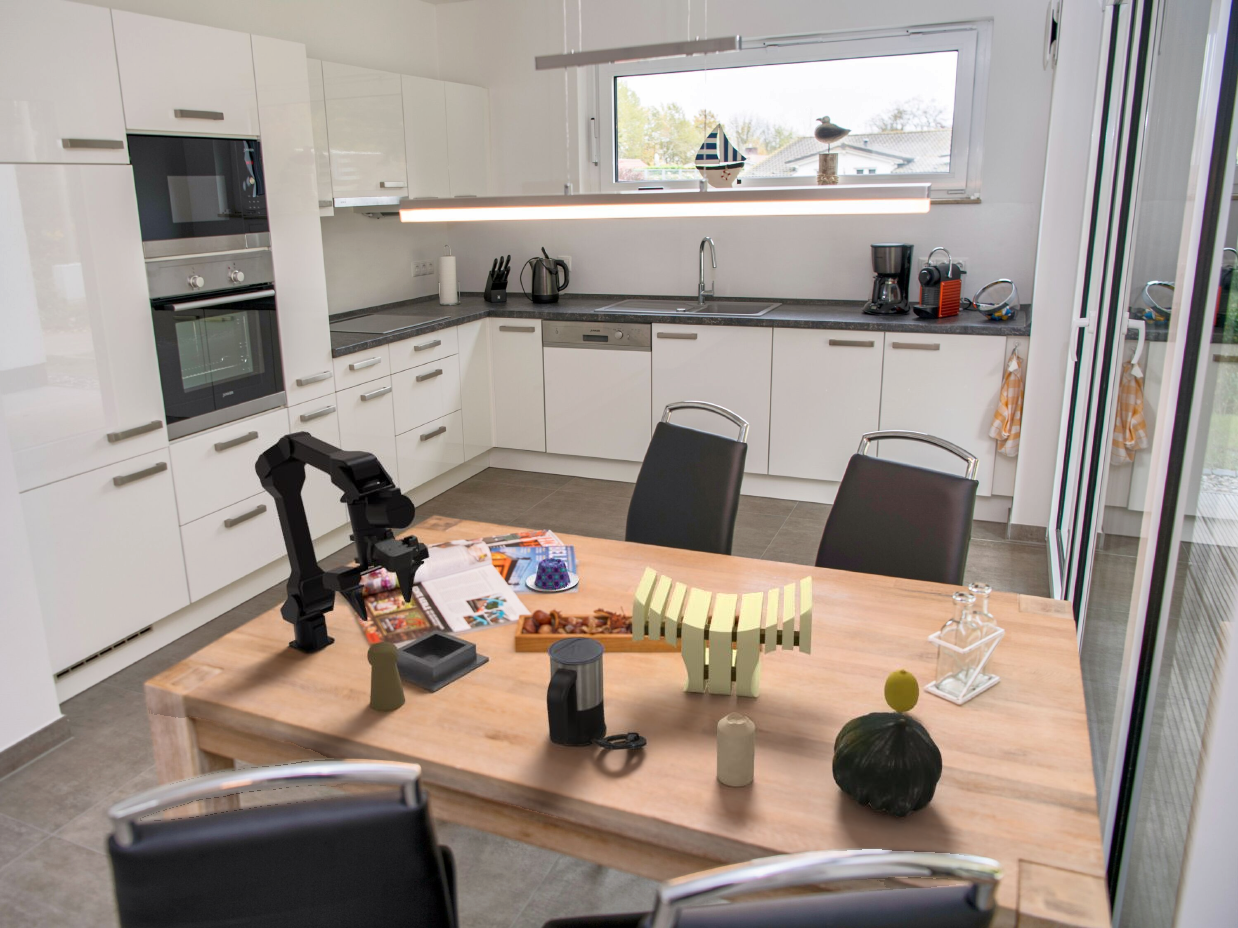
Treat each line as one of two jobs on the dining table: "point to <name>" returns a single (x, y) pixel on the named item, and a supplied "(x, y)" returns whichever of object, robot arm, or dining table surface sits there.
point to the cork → (385, 678)
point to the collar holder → (437, 660)
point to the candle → (735, 750)
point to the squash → (887, 762)
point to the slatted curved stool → (721, 631)
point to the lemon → (901, 691)
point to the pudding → (552, 576)
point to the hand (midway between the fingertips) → (387, 611)
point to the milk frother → (580, 696)
